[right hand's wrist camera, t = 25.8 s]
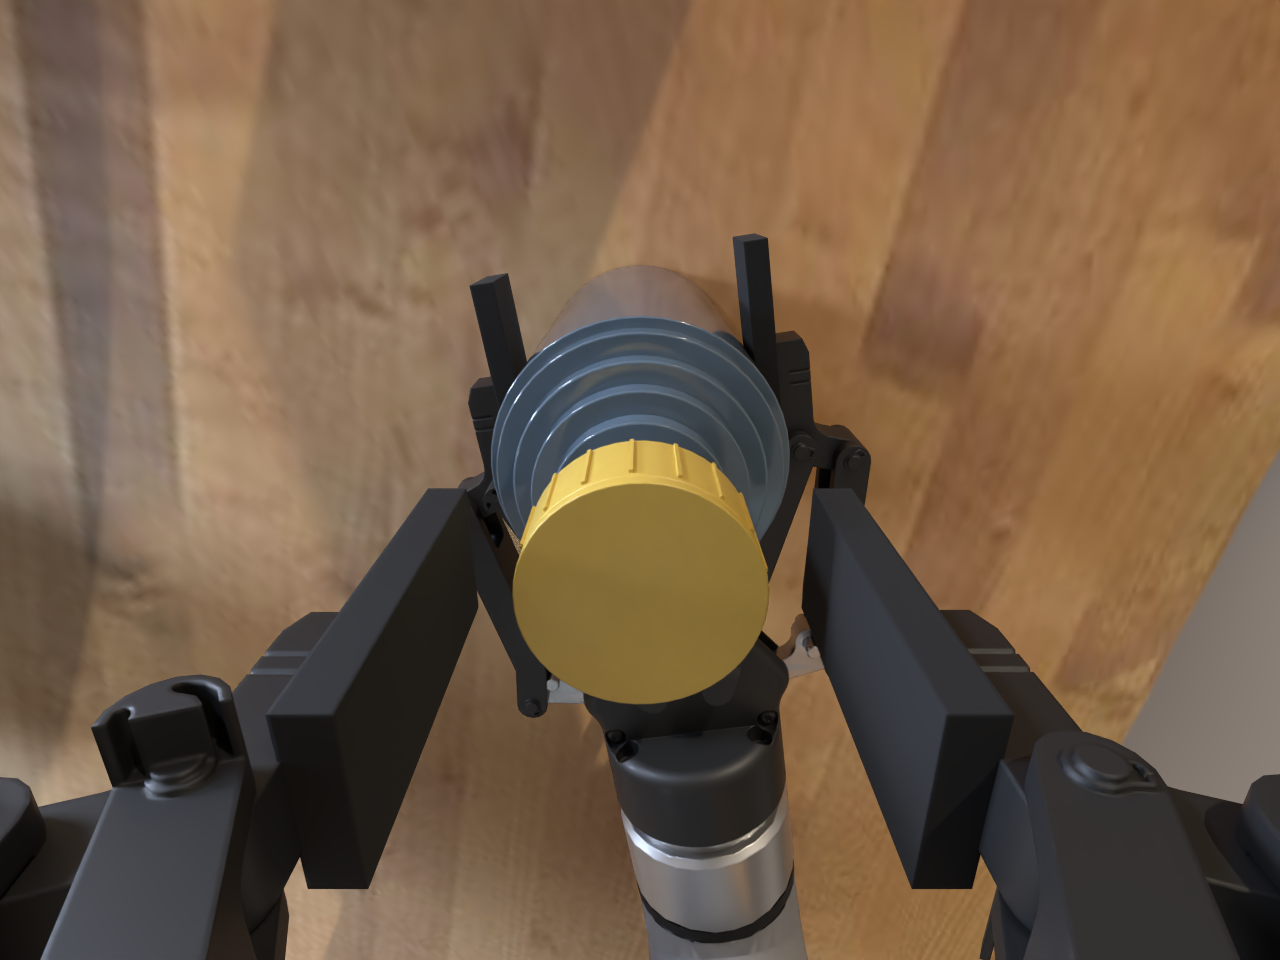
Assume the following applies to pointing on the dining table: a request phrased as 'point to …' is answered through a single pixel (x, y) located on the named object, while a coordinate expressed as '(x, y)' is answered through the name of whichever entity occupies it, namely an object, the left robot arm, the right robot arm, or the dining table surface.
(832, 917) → the dining table surface
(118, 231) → the dining table surface
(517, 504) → the bottle
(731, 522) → the cap
